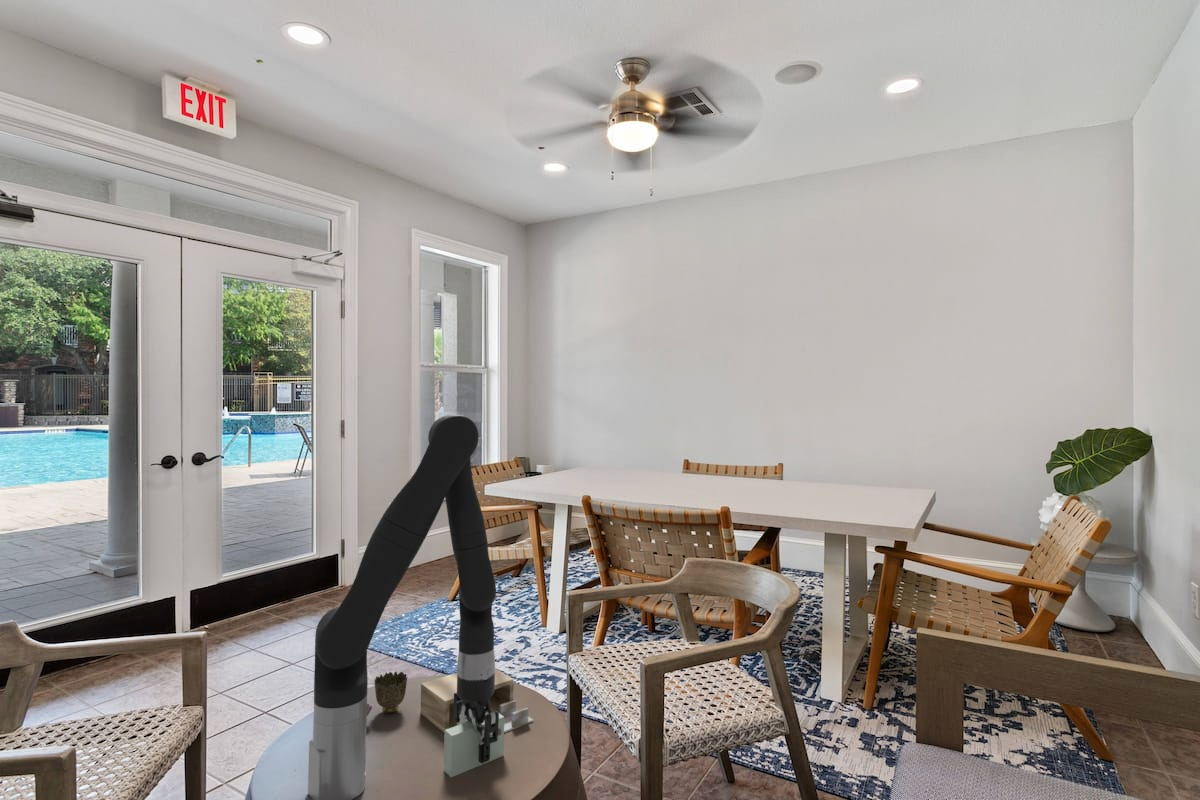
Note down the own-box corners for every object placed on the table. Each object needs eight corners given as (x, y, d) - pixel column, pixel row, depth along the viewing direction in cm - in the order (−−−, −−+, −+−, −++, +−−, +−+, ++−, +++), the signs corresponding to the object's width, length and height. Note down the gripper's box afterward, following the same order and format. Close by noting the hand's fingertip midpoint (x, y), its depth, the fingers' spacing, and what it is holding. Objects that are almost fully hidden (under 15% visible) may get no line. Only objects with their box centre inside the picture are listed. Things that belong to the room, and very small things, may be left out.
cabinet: (463, 748, 130) (464, 715, 130) (420, 713, 145) (421, 683, 145) (533, 721, 142) (534, 690, 142) (486, 691, 157) (487, 663, 157)
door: (453, 780, 119) (454, 738, 119) (443, 771, 122) (444, 730, 122) (506, 758, 127) (506, 718, 127) (495, 750, 130) (496, 711, 130)
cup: (372, 707, 148) (373, 673, 148) (404, 702, 151) (405, 669, 151) (375, 721, 141) (375, 686, 141) (408, 715, 144) (409, 680, 144)
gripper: (442, 664, 128) (441, 746, 128) (478, 687, 118) (476, 776, 117) (474, 655, 133) (473, 734, 133) (511, 677, 123) (510, 762, 122)
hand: (474, 753), depth 125 cm, fingers open, 6 cm apart
